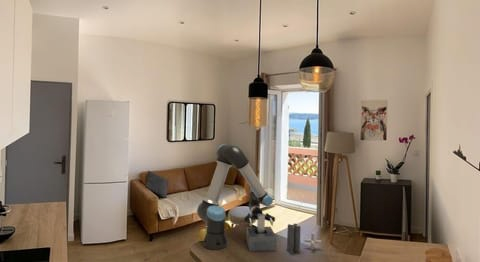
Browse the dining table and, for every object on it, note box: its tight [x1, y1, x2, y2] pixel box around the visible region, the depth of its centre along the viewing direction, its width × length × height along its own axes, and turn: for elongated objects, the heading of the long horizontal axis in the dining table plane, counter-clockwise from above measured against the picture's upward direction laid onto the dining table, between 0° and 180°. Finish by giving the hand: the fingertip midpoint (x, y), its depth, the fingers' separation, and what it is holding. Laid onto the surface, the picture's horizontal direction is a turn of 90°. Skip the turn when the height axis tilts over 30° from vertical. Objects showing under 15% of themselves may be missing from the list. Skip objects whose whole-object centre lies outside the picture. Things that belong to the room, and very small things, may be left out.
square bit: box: [256, 213, 266, 234], centre depth 188 cm, size 4×4×20 cm
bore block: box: [246, 226, 277, 252], centre depth 188 cm, size 16×16×9 cm
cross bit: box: [286, 223, 302, 255], centre depth 181 cm, size 8×8×16 cm
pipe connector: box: [304, 232, 322, 250], centre depth 184 cm, size 10×10×10 cm
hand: (261, 223), depth 186 cm, fingers open, 13 cm apart
